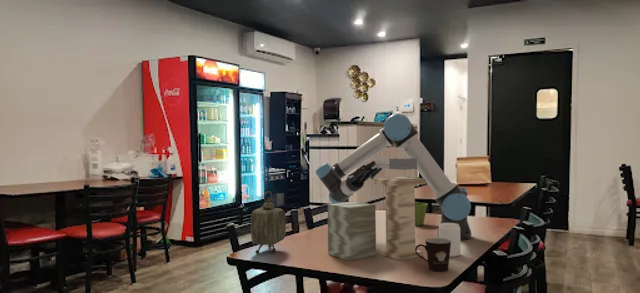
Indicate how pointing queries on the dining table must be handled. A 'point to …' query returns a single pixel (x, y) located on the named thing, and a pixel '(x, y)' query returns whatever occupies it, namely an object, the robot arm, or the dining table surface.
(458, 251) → the beverage can
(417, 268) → the dining table surface
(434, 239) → the coffee mug
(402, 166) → the grey t-shaped bar
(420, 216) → the green tapered cylinder
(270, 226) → the tabletop clock
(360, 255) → the beige grey streaked blocks
